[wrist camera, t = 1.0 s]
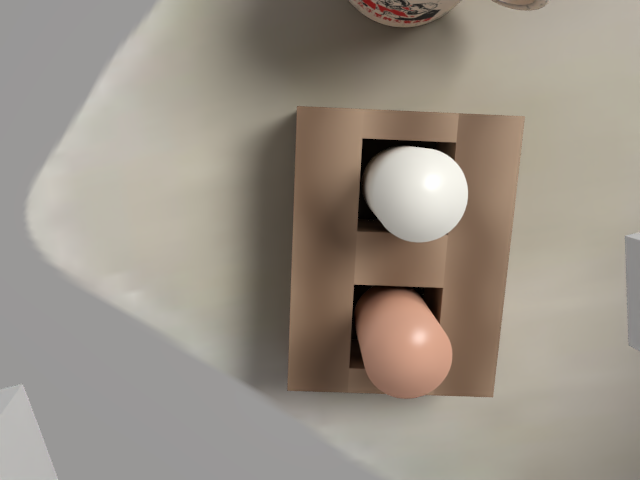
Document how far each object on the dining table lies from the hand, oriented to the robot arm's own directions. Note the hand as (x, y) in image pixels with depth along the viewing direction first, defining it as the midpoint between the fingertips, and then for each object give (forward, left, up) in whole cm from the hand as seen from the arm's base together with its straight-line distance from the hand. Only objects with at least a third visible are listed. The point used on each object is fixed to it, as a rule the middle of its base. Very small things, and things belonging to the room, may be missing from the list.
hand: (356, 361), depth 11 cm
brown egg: (-4, +6, -20) cm, 21 cm away
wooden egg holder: (-4, +2, -23) cm, 23 cm away
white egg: (-4, -2, -20) cm, 21 cm away
